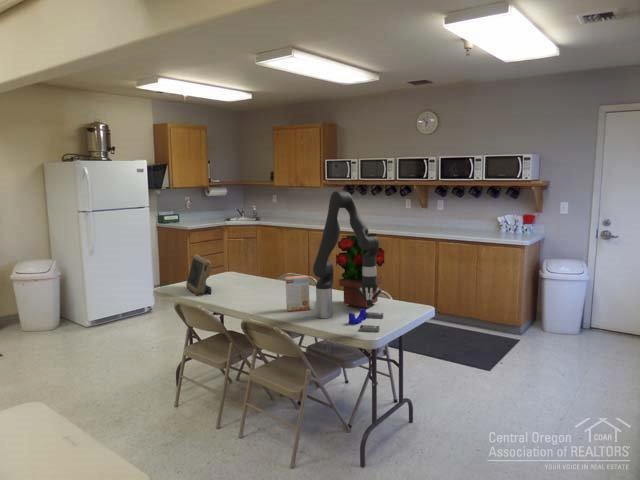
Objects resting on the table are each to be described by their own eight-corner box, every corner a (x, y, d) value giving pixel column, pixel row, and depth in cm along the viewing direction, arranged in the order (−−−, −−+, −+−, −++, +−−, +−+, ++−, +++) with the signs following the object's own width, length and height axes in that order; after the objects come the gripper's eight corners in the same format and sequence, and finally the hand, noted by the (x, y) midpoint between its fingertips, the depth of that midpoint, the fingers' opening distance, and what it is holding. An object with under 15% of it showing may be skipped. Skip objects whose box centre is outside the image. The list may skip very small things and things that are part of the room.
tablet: (182, 288, 360) (180, 255, 356) (200, 285, 367) (198, 253, 364) (197, 297, 333) (195, 261, 329) (216, 293, 340) (214, 259, 337)
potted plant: (368, 312, 288) (368, 238, 282) (336, 307, 300) (335, 236, 294) (384, 303, 306) (384, 233, 300) (353, 299, 318) (353, 231, 312)
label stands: (359, 331, 255) (359, 326, 254) (366, 315, 282) (366, 311, 281) (378, 332, 252) (378, 327, 252) (383, 316, 280) (383, 312, 279)
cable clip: (355, 325, 265) (355, 314, 264) (348, 323, 268) (348, 313, 267) (368, 320, 274) (368, 309, 273) (361, 318, 277) (361, 308, 276)
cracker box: (308, 307, 301) (307, 274, 298) (310, 310, 295) (309, 276, 292) (286, 309, 299) (285, 276, 296) (287, 311, 293) (286, 278, 290)
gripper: (355, 275, 249) (356, 307, 252) (381, 276, 246) (381, 309, 249) (357, 272, 257) (358, 304, 259) (382, 273, 254) (382, 305, 256)
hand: (369, 306), depth 254 cm, fingers closed
